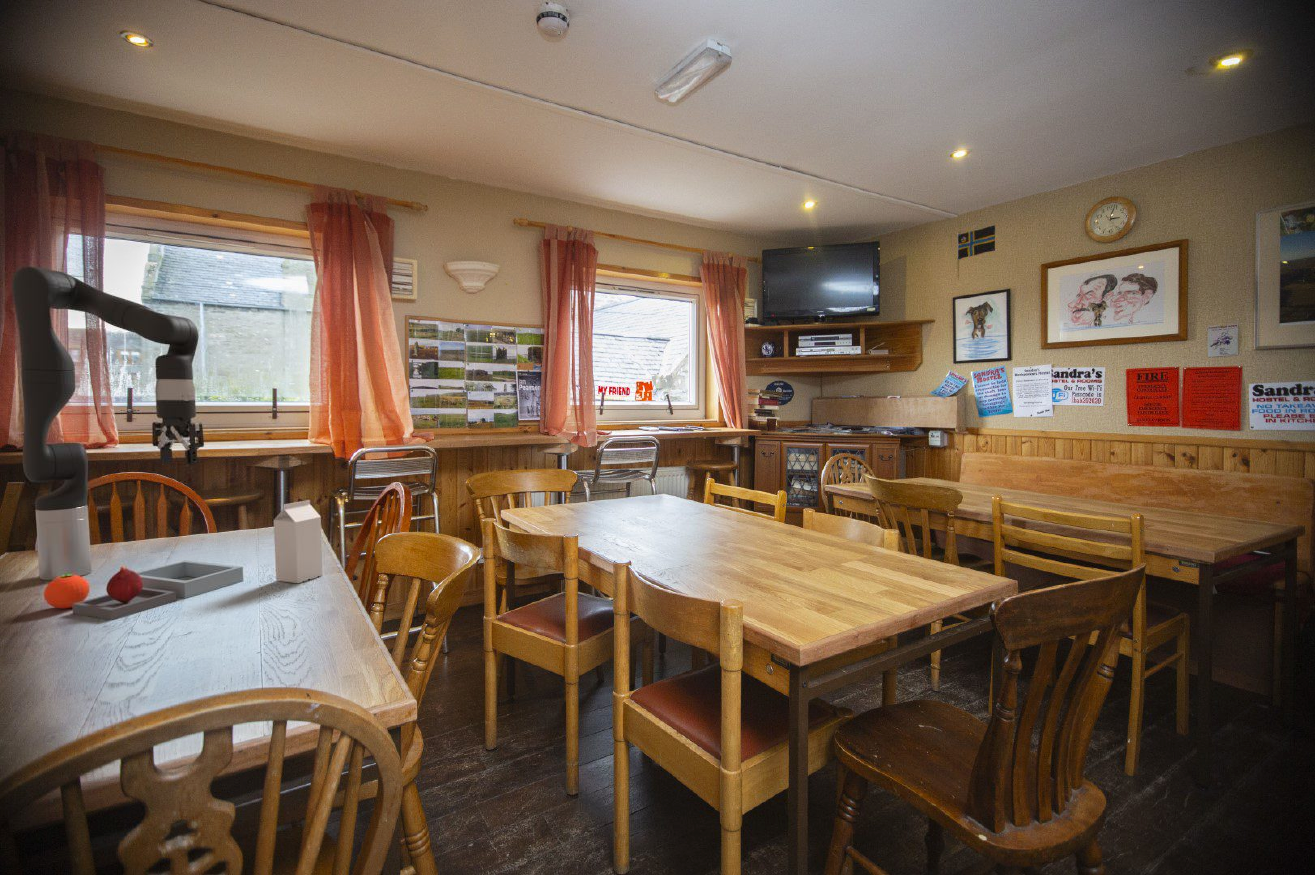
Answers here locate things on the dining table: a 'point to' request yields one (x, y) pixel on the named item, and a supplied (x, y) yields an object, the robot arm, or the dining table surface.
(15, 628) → the dining table surface
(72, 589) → the clementine
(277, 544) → the milk carton
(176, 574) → the shallow gray box
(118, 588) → the onion
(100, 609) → the tray
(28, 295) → the robot arm
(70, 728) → the dining table surface
